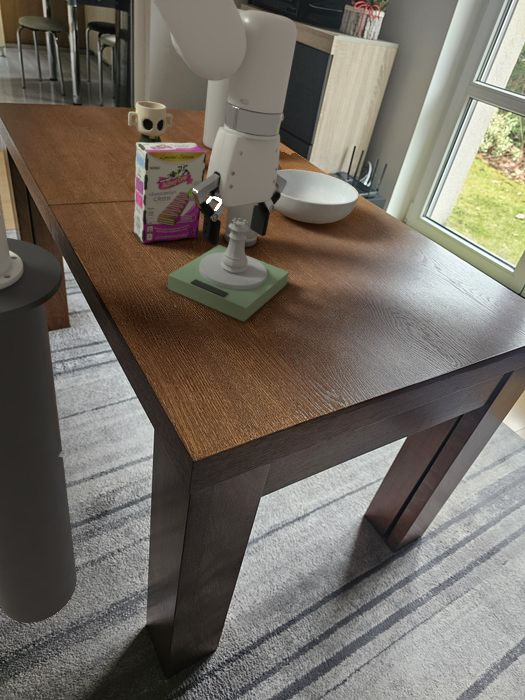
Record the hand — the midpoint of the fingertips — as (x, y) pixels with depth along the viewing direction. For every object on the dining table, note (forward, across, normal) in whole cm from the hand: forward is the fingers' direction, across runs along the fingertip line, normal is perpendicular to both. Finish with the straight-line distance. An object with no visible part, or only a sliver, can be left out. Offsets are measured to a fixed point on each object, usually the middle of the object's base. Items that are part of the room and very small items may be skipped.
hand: (234, 237), depth 78 cm
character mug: (+9, -21, -58) cm, 62 cm away
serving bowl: (+8, -36, -16) cm, 41 cm away
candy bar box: (+9, -1, -20) cm, 22 cm away
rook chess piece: (+6, -1, 0) cm, 6 cm away
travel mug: (+9, -13, -12) cm, 20 cm away
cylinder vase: (+8, -49, -62) cm, 80 cm away
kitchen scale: (+9, 0, 0) cm, 9 cm away
